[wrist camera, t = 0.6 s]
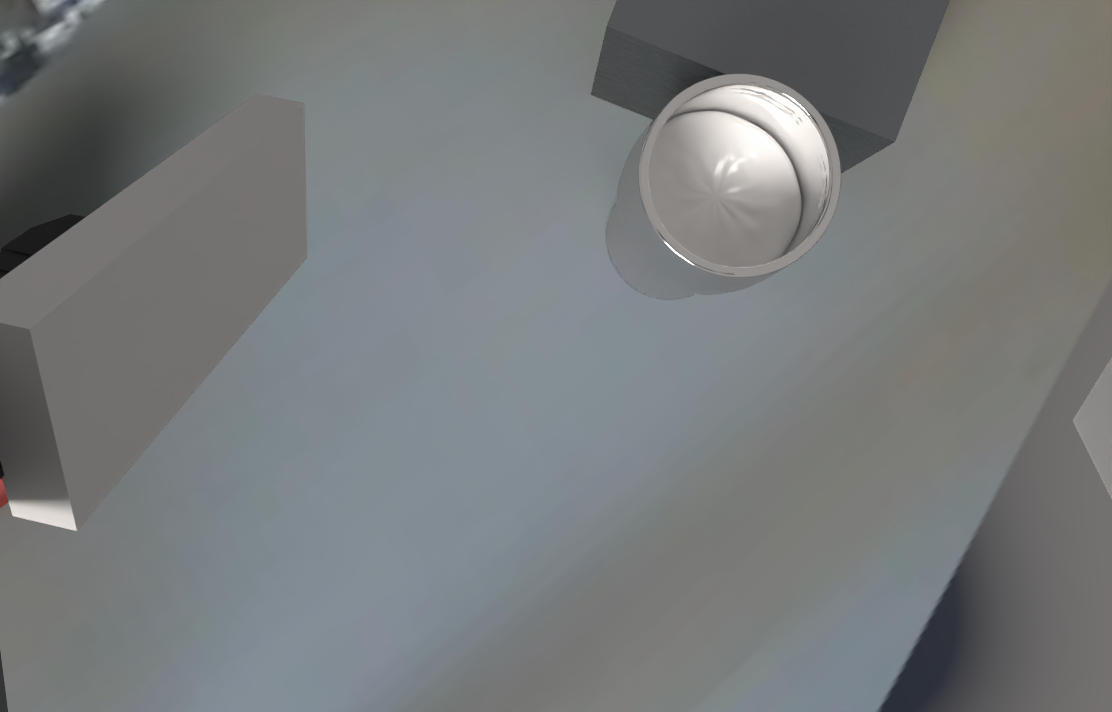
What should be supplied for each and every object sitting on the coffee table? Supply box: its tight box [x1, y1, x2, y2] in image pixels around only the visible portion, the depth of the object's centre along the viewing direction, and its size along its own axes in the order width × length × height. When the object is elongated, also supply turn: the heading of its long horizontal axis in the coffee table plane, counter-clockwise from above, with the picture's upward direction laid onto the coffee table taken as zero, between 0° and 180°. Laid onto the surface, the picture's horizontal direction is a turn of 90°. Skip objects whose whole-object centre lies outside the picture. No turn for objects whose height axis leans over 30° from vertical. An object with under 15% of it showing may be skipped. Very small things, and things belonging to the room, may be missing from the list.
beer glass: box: [606, 73, 841, 300], centre depth 36 cm, size 7×7×15 cm
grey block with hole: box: [591, 0, 949, 173], centre depth 39 cm, size 6×12×9 cm, turn 69°
